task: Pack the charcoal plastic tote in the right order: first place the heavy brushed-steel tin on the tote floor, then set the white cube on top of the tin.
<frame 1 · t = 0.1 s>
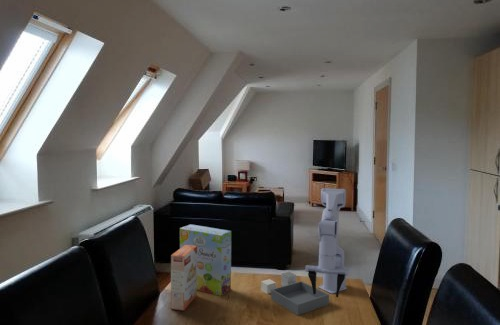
hand: (325, 295, 128), 11 cm above the table, tool pointing down, fingers open, 7 cm apart
cracker box: (184, 303, 145), on the table
tote: (299, 301, 147), on the table
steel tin: (288, 285, 163), on the table
white cube: (268, 291, 157), on the table
snack box: (205, 288, 159), on the table
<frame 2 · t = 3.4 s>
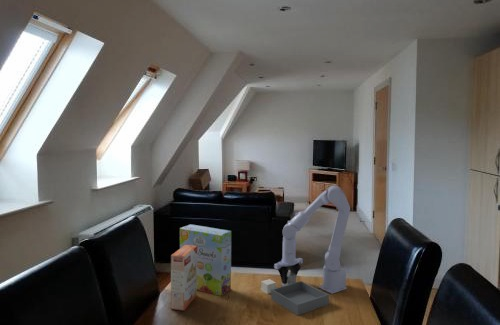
hand: (288, 282, 163), 1 cm above the table, tool pointing down, fingers closed on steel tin, 4 cm apart
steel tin: (288, 285, 163), on the table, touching gripper
everything else where it was.
when the fingers open (3 cm above the table, at t = 7.6 s): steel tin stays where it is, resting on tote.
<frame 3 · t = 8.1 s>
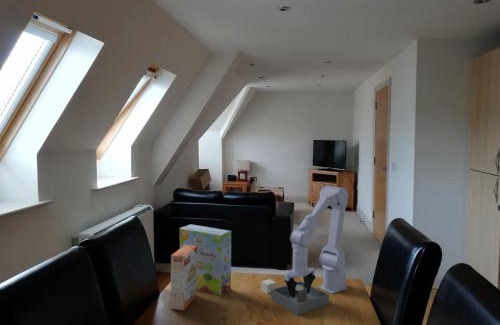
hand: (299, 294, 146), 3 cm above the table, tool pointing down, fingers open, 7 cm apart
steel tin: (298, 299, 147), point 1 cm above the table, touching tote
everything else where it was.
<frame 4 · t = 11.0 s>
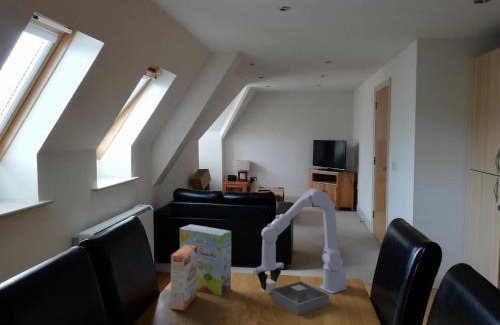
hand: (268, 287, 157), 1 cm above the table, tool pointing down, fingers closed on white cube, 4 cm apart
white cube: (268, 290, 157), on the table, touching gripper
everything else where it was.
when the fingers open (8 cm above the table, at t = 14.7 s): white cube drops 1 cm, resting on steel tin.
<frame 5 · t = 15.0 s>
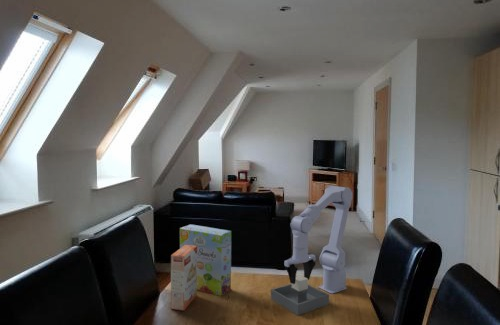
hand: (299, 281, 146), 8 cm above the table, tool pointing down, fingers open, 7 cm apart
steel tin: (298, 299, 147), point 1 cm above the table, touching white cube, tote
white cube: (299, 288, 146), point 6 cm above the table, touching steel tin
everything else where it was.
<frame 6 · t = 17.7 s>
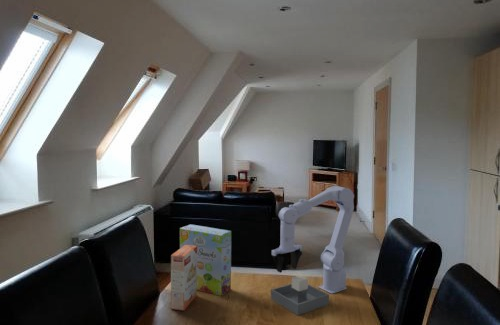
hand: (286, 269, 153), 10 cm above the table, tool pointing down, fingers open, 7 cm apart
nothing on the table moved.
at the end: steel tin inside the target area on the tote (0.5 cm from its centre), point 0.6 cm above the tote's base; white cube 0.5 cm off-centre on the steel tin, point 5.0 cm above the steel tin's base; white cube tilted 0° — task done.
